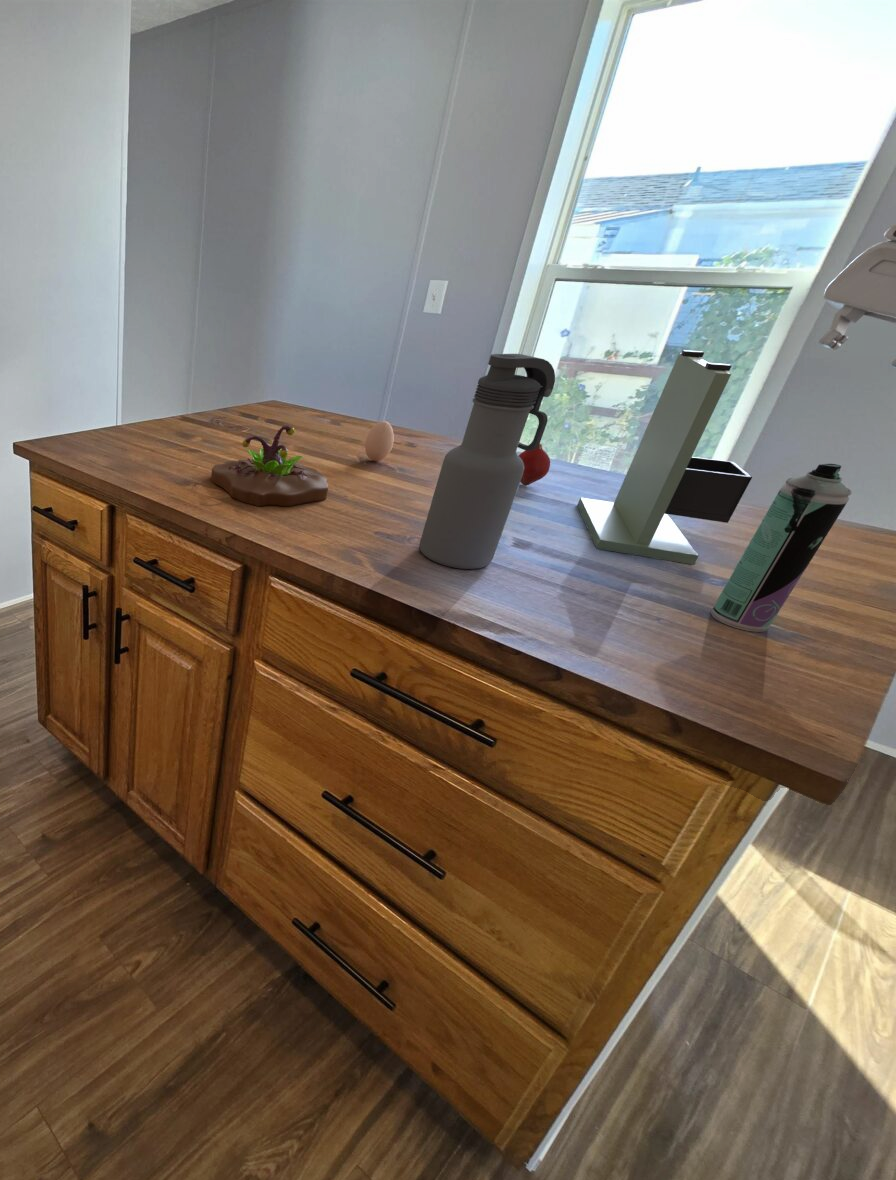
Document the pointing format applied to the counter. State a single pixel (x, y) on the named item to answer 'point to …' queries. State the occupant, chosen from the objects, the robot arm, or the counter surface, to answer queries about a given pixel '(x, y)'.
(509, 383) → the water bottle
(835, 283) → the robot arm
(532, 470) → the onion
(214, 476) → the plant
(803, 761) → the counter surface
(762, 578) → the spray can
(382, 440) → the egg
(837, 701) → the counter surface
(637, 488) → the white stand
